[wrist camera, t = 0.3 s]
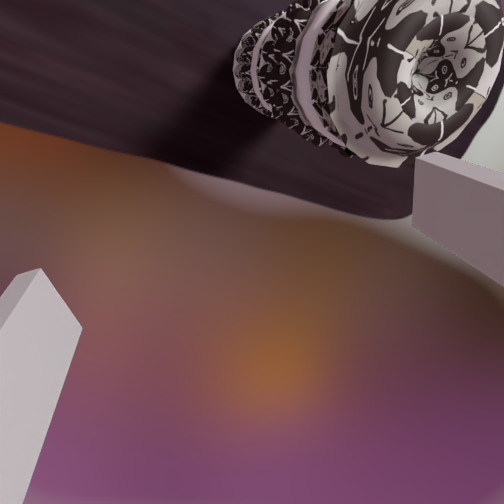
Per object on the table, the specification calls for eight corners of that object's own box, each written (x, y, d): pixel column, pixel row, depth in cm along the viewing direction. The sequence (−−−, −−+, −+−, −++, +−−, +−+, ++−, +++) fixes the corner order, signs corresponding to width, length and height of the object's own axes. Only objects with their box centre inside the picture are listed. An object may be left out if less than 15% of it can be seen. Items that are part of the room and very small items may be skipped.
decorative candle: (329, 39, 34) (601, -12, 12) (293, 128, 37) (455, 209, 16) (248, -5, 30) (426, -175, 9) (217, 98, 34) (293, 148, 13)
